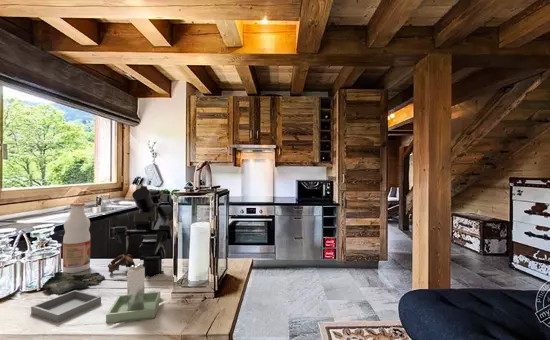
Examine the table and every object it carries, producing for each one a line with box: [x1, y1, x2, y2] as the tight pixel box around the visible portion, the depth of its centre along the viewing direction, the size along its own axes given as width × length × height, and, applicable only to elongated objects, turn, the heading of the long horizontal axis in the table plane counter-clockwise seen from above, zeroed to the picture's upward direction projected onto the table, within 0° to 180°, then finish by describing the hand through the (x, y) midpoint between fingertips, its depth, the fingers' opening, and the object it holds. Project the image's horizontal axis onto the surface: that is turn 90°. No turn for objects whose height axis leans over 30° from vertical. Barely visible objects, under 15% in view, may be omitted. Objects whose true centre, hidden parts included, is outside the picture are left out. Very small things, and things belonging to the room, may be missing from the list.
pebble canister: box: [126, 263, 146, 311], centre depth 83 cm, size 5×5×13 cm
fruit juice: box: [62, 202, 91, 274], centre depth 117 cm, size 9×9×28 cm
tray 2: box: [105, 291, 161, 324], centre depth 83 cm, size 12×12×3 cm
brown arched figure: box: [107, 253, 136, 274], centre depth 115 cm, size 12×10×8 cm
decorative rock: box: [41, 271, 106, 296], centre depth 101 cm, size 19×6×15 cm
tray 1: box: [30, 289, 102, 324], centre depth 83 cm, size 12×12×3 cm
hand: (139, 254), depth 94 cm, fingers open, 9 cm apart
